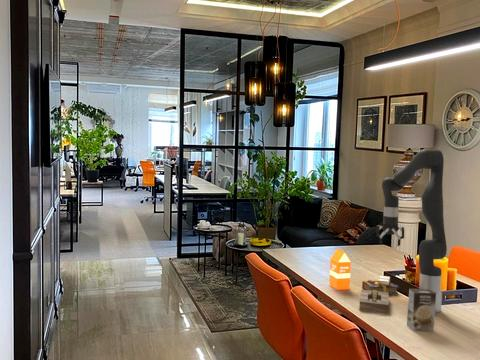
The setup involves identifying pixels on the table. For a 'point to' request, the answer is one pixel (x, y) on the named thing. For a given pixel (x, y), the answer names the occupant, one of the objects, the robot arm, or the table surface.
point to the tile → (384, 280)
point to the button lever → (374, 296)
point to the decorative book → (379, 287)
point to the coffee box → (421, 310)
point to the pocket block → (378, 306)
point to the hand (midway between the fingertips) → (389, 245)
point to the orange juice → (340, 270)
